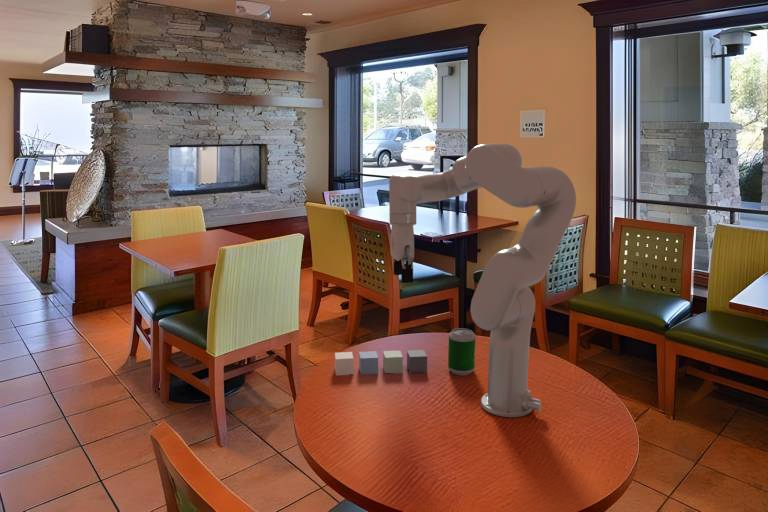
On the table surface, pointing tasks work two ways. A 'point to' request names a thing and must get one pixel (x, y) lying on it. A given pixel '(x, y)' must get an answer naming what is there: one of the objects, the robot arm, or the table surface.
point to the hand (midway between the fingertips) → (403, 278)
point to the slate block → (368, 362)
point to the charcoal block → (417, 361)
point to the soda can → (461, 351)
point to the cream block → (344, 363)
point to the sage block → (392, 361)
